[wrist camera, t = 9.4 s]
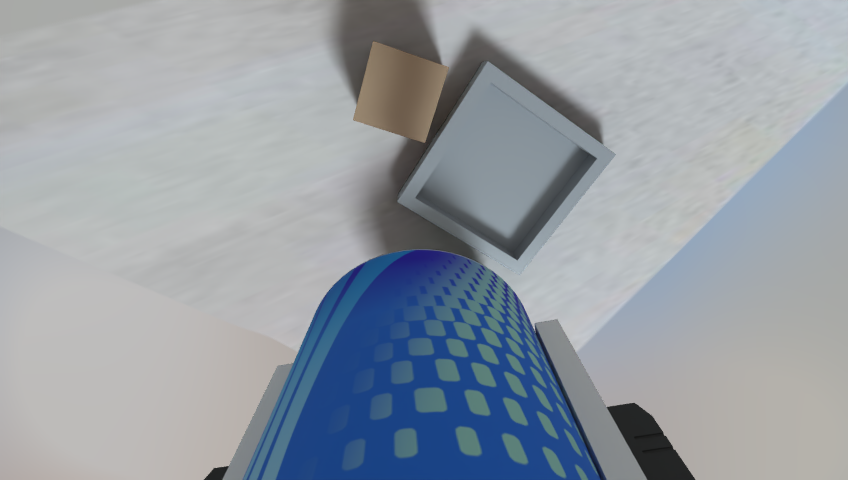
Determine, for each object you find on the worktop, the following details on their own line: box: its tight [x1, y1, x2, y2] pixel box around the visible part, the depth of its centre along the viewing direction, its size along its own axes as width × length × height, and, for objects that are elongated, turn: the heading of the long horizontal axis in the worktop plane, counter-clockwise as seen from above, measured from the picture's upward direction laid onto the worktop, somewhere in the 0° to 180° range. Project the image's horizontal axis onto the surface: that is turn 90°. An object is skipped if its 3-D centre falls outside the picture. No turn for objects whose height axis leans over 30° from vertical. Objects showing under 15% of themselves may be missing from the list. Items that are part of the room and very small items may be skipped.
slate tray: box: [397, 61, 616, 275], centre depth 34 cm, size 12×12×2 cm
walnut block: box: [353, 41, 449, 143], centre depth 30 cm, size 5×5×5 cm
